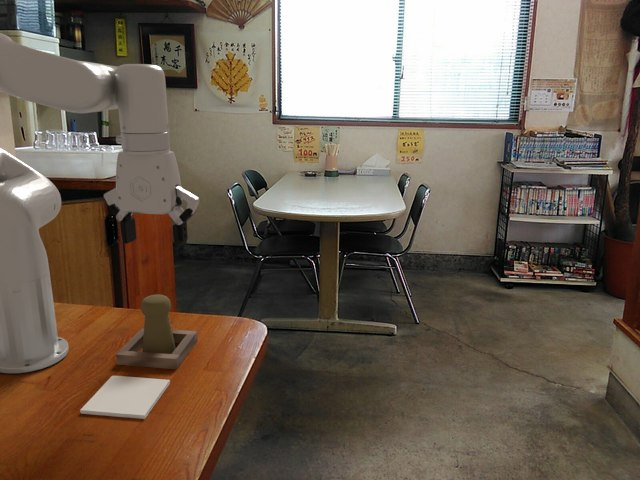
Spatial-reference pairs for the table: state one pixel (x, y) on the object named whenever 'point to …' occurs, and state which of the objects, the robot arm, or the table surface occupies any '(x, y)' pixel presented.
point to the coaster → (126, 397)
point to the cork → (157, 325)
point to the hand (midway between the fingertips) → (154, 243)
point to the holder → (157, 360)
